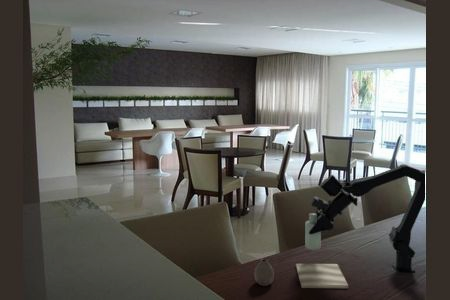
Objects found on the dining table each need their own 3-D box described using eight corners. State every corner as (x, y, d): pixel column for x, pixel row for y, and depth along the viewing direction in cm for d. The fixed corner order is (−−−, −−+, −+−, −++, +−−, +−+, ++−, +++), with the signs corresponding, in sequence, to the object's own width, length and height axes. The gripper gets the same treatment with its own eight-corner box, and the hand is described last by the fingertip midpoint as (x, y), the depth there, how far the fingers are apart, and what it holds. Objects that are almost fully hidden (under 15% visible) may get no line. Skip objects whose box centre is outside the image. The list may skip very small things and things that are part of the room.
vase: (277, 283, 145) (277, 259, 144) (266, 289, 140) (265, 265, 139) (262, 277, 149) (262, 255, 148) (250, 284, 144) (250, 260, 143)
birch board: (348, 288, 140) (348, 285, 139) (301, 287, 141) (301, 284, 140) (337, 266, 157) (337, 264, 157) (296, 266, 158) (296, 263, 158)
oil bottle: (322, 249, 158) (322, 216, 156) (307, 250, 157) (307, 216, 156) (317, 243, 164) (317, 211, 162) (303, 244, 163) (303, 212, 162)
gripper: (322, 185, 166) (295, 210, 169) (324, 195, 148) (294, 223, 151) (341, 204, 165) (314, 229, 169) (346, 217, 147) (315, 244, 151)
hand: (309, 230), depth 160 cm, fingers closed on oil bottle, 6 cm apart
